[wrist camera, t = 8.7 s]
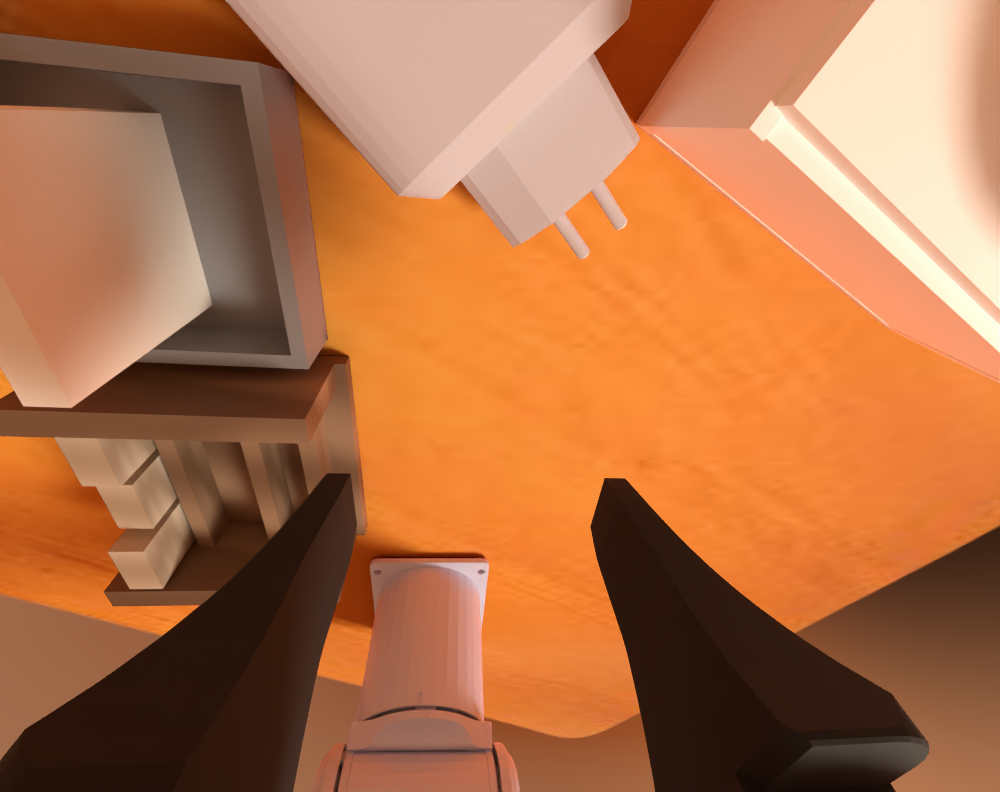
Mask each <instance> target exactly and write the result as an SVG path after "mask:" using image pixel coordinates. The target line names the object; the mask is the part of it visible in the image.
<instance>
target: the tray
mask: <svg viewBox="0 0 1000 792" xmlns="http://www.w3.org/2000/svg"><path fill="white" fill-rule="evenodd" d="M0 105H10V106H38V107H66V108H95V109H123V110H132V111H142V112H152V113H160V114H161V118H162V121H163V125H164V129H165V132H166V136H167V140H168V143H169V147H170V151H171V154H172V158H173V162H174V165H175V169H176V173H177V176H178V180H179V184H180V187H181V191H182V195H183V198H184V202H185V206H186V209H187V213H188V217H189V220H190V224H191V228H192V231H193V235H194V239H195V242H196V246H197V250H198V253H199V257H200V261H201V264H202V268H203V272H204V275H205V279H206V283H207V286H208V290H209V294H210V297H211V301H212V306H211V307H209V308H208V309H207V310H205V311H204V312H202V313H201V314H200V315H198V316H197V317H196V318H194V319H193V320H191V321H190V322H189V323H187V324H186V325H185V326H183V327H182V328H180V329H179V330H178V331H176V332H175V333H174V334H172V335H171V336H169V337H168V338H167V339H165V340H164V341H163V342H161V343H160V344H159V345H157V346H156V347H154V348H153V349H152V350H150V351H149V352H148V353H146V354H145V355H143V356H142V357H141V358H139V359H138V360H137V361H135V362H150V363H174V364H197V365H220V366H243V367H266V368H290V369H309V368H310V366H311V365H312V363H313V362H314V360H315V358H316V357H317V355H318V354H319V352H320V350H321V349H322V347H323V346H324V344H325V342H326V341H327V339H328V336H327V329H326V321H325V314H324V306H323V299H322V291H321V284H320V276H319V269H318V262H317V254H316V247H315V239H314V232H313V224H312V217H311V209H310V202H309V194H308V187H307V179H306V172H305V164H304V157H303V150H302V142H301V135H300V127H299V120H298V112H297V105H296V97H295V90H294V82H293V77H292V76H291V75H290V73H289V72H288V71H286V70H283V69H279V68H276V67H272V66H269V65H265V64H262V63H258V62H250V61H242V60H233V59H224V58H216V57H207V56H198V55H189V54H181V53H172V52H163V51H155V50H146V49H137V48H128V47H120V46H111V45H102V44H94V43H85V42H76V41H67V40H59V39H50V38H41V37H33V36H24V35H15V34H6V33H0Z"/></svg>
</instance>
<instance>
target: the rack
mask: <svg viewBox="0 0 1000 792" xmlns="http://www.w3.org/2000/svg"><path fill="white" fill-rule="evenodd" d="M0 436H18V437H58V438H97V439H137V440H154V442H155V444H156V447H157V449H158V451H159V454H160V456H161V458H162V461H163V463H164V465H165V468H166V470H167V472H168V475H169V477H170V480H171V482H172V484H173V487H174V489H175V491H176V494H177V496H178V498H179V501H180V503H181V505H182V508H183V510H184V512H185V515H186V517H187V519H188V522H189V524H190V526H191V529H192V531H193V533H194V536H195V540H194V541H193V543H192V545H191V546H190V548H189V549H188V551H187V552H186V554H185V555H184V557H183V559H182V560H181V562H180V563H179V565H178V566H177V568H176V569H175V571H174V573H173V574H172V576H171V577H170V579H169V580H168V582H167V583H166V585H165V586H164V588H163V589H130V588H129V587H128V585H127V583H126V582H125V580H124V578H123V577H122V575H121V573H120V572H119V573H118V574H117V575H116V577H115V578H114V579H113V580H112V582H111V583H110V584H109V586H108V587H107V588H106V590H105V591H104V593H105V595H106V596H107V598H108V599H109V601H110V602H111V604H112V605H113V606H170V605H201V604H202V603H204V602H205V601H206V600H207V599H208V598H210V597H211V596H212V595H213V594H214V593H215V592H216V591H217V590H219V589H220V588H221V587H222V586H223V585H224V584H225V583H226V582H228V581H229V580H230V579H231V578H232V577H233V576H234V575H235V574H236V573H237V572H238V571H239V570H240V569H241V568H242V567H243V566H244V565H246V564H247V563H248V562H249V561H250V559H251V558H252V557H253V556H254V555H255V554H256V553H257V552H258V551H259V550H260V549H261V548H262V547H263V546H264V545H265V544H266V543H267V542H268V541H269V540H270V539H271V538H272V537H273V536H274V535H275V534H276V533H277V531H278V530H279V529H280V528H281V527H282V526H283V525H284V524H285V522H286V521H287V520H288V519H289V518H290V517H291V516H292V515H293V513H294V512H295V511H296V510H297V509H298V508H299V506H300V505H301V504H302V503H303V502H304V500H305V499H306V498H307V497H308V496H309V494H310V493H311V492H312V491H313V489H314V488H315V487H316V486H317V484H318V483H319V482H320V481H321V479H322V478H323V477H324V476H325V475H326V474H327V473H350V474H351V480H352V488H353V496H354V504H355V512H356V520H357V528H356V534H355V539H356V535H365V532H366V528H367V517H366V508H365V499H364V489H363V480H362V471H361V462H360V452H359V443H358V434H357V424H356V415H355V406H354V397H353V387H352V378H351V369H350V359H349V357H348V356H326V355H317V357H316V358H315V360H314V362H313V363H312V365H311V366H310V368H309V369H290V368H266V367H243V366H220V365H197V364H174V363H150V362H134V363H132V364H131V365H130V366H128V367H127V368H126V369H124V370H123V371H121V372H120V373H119V374H117V375H116V376H115V377H113V378H112V379H110V380H109V381H108V382H106V383H105V384H104V385H102V386H101V387H100V388H98V389H97V390H95V391H94V392H93V393H91V394H90V395H89V396H87V397H86V398H84V399H83V400H82V401H80V402H79V403H78V404H76V405H75V406H73V407H72V408H58V407H29V406H23V405H22V403H21V401H20V400H19V398H18V396H17V395H16V393H15V391H13V392H11V393H10V394H8V395H6V396H5V397H3V398H1V399H0ZM355 539H354V543H355ZM353 547H354V545H353ZM352 551H353V550H352ZM346 574H347V573H346ZM345 578H346V576H345ZM344 581H345V579H344ZM343 585H344V583H343ZM342 589H343V586H342ZM342 589H341V592H340V595H339V599H338V602H337V603H339V601H340V597H341V593H342Z"/></svg>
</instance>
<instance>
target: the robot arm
mask: <svg viewBox="0 0 1000 792" xmlns="http://www.w3.org/2000/svg"><path fill="white" fill-rule="evenodd" d="M356 528H357V520H356V512H355V504H354V496H353V488H352V480H351V474H350V473H327V474H326V475H325V476H324V477H323V478H322V479H321V481H320V482H319V483H318V484H317V486H316V487H315V488H314V489H313V491H312V492H311V493H310V494H309V496H308V497H307V498H306V499H305V500H304V502H303V503H302V504H301V505H300V506H299V508H298V509H297V510H296V511H295V512H294V513H293V515H292V516H291V517H290V518H289V519H288V520H287V521H286V522H285V524H284V525H283V526H282V527H281V528H280V529H279V530H278V531H277V533H276V534H275V535H274V536H273V537H272V538H271V539H270V540H269V541H268V542H267V543H266V544H265V545H264V546H263V547H262V548H261V549H260V550H259V551H258V552H257V553H256V554H255V555H254V556H253V557H252V558H251V559H250V561H249V562H248V563H247V564H246V565H244V566H243V567H242V568H241V569H240V570H239V571H238V572H237V573H236V574H235V575H234V576H233V577H232V578H231V579H230V580H229V581H228V582H226V583H225V584H224V585H223V586H222V587H221V588H220V589H219V590H217V591H216V592H215V593H214V594H213V595H212V596H211V597H210V598H208V599H207V600H206V601H205V602H204V603H202V604H201V605H200V606H199V607H198V608H196V609H195V610H194V611H193V612H192V613H190V614H189V615H188V616H187V617H186V618H184V619H183V620H182V621H181V622H179V623H178V624H177V625H176V626H174V627H173V628H172V629H171V630H169V631H168V632H167V633H165V634H164V635H163V636H162V637H160V638H159V639H158V640H156V641H155V642H153V643H152V644H151V645H149V646H148V647H147V648H145V649H144V650H143V651H141V652H140V653H138V654H137V655H136V656H134V657H133V658H132V659H130V660H129V661H128V662H126V663H125V664H123V665H122V666H121V667H119V668H118V669H116V670H115V671H114V672H112V673H111V674H109V675H108V676H106V677H105V678H104V679H102V680H101V681H100V682H98V683H96V684H95V685H93V686H92V687H90V688H89V689H87V690H85V691H84V692H82V693H81V694H79V695H78V696H76V697H75V698H74V699H72V700H70V701H69V702H67V703H65V704H64V705H62V706H61V707H59V708H58V709H56V710H55V711H53V712H52V713H50V714H49V715H47V716H46V717H44V718H42V719H41V720H39V721H37V722H36V723H34V724H33V725H31V726H30V727H28V728H26V729H25V730H24V731H23V733H22V734H21V735H20V736H19V738H18V739H17V740H16V741H15V743H14V744H13V745H12V746H11V748H10V749H9V750H8V751H7V753H6V754H5V755H4V756H3V758H2V759H1V761H0V792H293V788H294V783H295V778H296V772H297V768H298V762H299V756H300V752H301V747H302V741H303V736H304V732H305V727H306V722H307V717H308V712H309V707H310V703H311V698H312V693H313V689H314V684H315V679H316V675H317V671H318V666H319V661H320V658H321V654H322V650H323V647H324V643H325V640H326V637H327V633H328V630H329V627H330V624H331V621H332V618H333V614H334V611H335V608H336V605H337V602H338V599H339V595H340V592H341V589H342V586H343V583H344V579H345V576H346V573H347V570H348V567H349V563H350V560H351V555H352V550H353V545H354V539H355V534H356ZM591 531H592V536H593V542H594V547H595V552H596V556H597V561H598V564H599V567H600V570H601V573H602V576H603V579H604V582H605V586H606V589H607V592H608V595H609V598H610V601H611V604H612V607H613V610H614V613H615V616H616V619H617V622H618V625H619V628H620V631H621V634H622V637H623V640H624V644H625V647H626V651H627V654H628V659H629V663H630V667H631V672H632V676H633V680H634V685H635V689H636V694H637V698H638V703H639V708H640V713H641V717H642V722H643V727H644V732H645V737H646V742H647V748H648V753H649V758H650V764H651V768H652V774H653V780H654V786H655V792H895V790H894V788H893V787H892V785H891V784H890V783H891V782H893V781H894V780H896V779H897V778H899V777H900V776H902V775H903V774H905V773H906V772H908V771H910V770H911V769H913V768H914V767H916V766H917V765H918V764H920V763H921V762H922V761H924V760H925V758H926V756H927V755H928V754H929V744H928V742H927V740H926V739H925V738H924V736H923V735H922V734H921V732H920V731H919V730H918V728H917V727H916V726H915V725H914V723H913V722H912V720H911V719H910V718H909V716H908V715H907V714H906V712H905V711H904V710H903V708H902V707H901V706H900V704H899V703H898V702H897V700H896V699H895V698H894V696H893V695H892V694H891V693H889V692H888V691H886V690H884V689H882V688H881V687H879V686H877V685H875V684H874V683H872V682H871V681H869V680H867V679H866V678H864V677H862V676H861V675H859V674H857V673H855V672H853V671H852V670H850V669H849V668H847V667H845V666H843V665H841V664H840V663H839V662H837V661H835V660H834V659H832V658H831V657H829V656H827V655H826V654H825V653H823V652H822V651H820V650H819V649H817V648H815V647H814V646H812V645H811V644H809V643H808V642H806V641H805V640H803V639H802V638H800V637H799V636H797V635H796V634H795V633H793V632H792V631H790V630H789V629H787V628H786V627H785V626H783V625H782V624H780V623H779V622H778V621H776V620H775V619H774V618H772V617H771V616H770V615H768V614H767V613H766V612H764V611H763V610H761V609H760V608H759V607H757V606H756V605H755V604H754V603H752V602H751V601H750V600H749V599H747V598H746V597H745V596H743V595H742V594H741V593H740V592H739V591H737V590H736V589H735V588H734V587H733V586H731V585H730V584H729V583H728V582H727V581H726V580H724V579H723V578H722V577H721V576H720V575H718V574H717V573H716V572H715V571H714V570H713V569H712V568H711V567H709V566H708V565H707V564H706V563H705V562H704V561H703V560H702V559H701V558H700V557H699V556H698V555H697V554H696V553H695V552H694V551H693V550H691V549H690V548H689V547H688V546H687V545H686V544H685V543H684V542H683V541H682V540H681V539H680V538H679V537H678V536H677V535H676V534H675V532H674V531H673V530H672V529H671V528H670V527H669V526H668V525H667V524H666V523H665V522H664V521H663V520H662V519H661V518H660V517H659V516H658V514H657V513H656V512H655V511H654V510H653V509H652V508H651V507H650V506H649V505H648V503H647V502H646V501H645V500H644V499H643V498H642V497H641V496H640V495H639V493H638V492H637V491H636V490H635V489H634V488H633V487H632V486H631V485H630V483H629V482H628V481H627V480H626V479H621V478H605V479H604V483H603V486H602V489H601V493H600V496H599V500H598V503H597V506H596V510H595V513H594V517H593V520H592V523H591ZM488 570H489V562H488V560H487V559H484V558H377V559H373V560H372V561H371V563H370V575H371V584H372V593H373V602H374V611H375V619H374V625H373V630H372V636H371V641H370V647H369V652H368V658H367V663H366V669H365V675H364V680H363V686H362V691H361V697H360V702H359V708H358V713H357V719H356V721H354V722H352V724H351V729H350V735H349V740H348V746H347V751H346V744H341V743H337V744H335V745H334V746H333V747H332V749H331V751H329V752H328V753H327V754H326V755H325V757H323V759H322V760H321V763H320V765H319V767H318V771H317V774H316V777H315V780H314V784H313V788H312V792H520V789H519V782H518V776H517V771H516V767H515V764H514V761H513V759H512V758H511V756H510V755H509V753H508V752H507V751H506V748H505V747H504V745H503V744H502V743H500V742H496V743H492V726H491V722H486V721H484V707H483V677H482V646H481V628H482V620H483V612H484V603H485V595H486V587H487V578H488Z"/></svg>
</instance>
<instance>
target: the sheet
mask: <svg viewBox="0 0 1000 792" xmlns="http://www.w3.org/2000/svg"><path fill="white" fill-rule="evenodd" d="M211 306H212V301H211V297H210V294H209V290H208V286H207V283H206V279H205V275H204V272H203V268H202V264H201V261H200V257H199V253H198V250H197V246H196V242H195V239H194V235H193V231H192V228H191V224H190V220H189V217H188V213H187V209H186V206H185V202H184V198H183V195H182V191H181V187H180V184H179V180H178V176H177V173H176V169H175V165H174V162H173V158H172V154H171V151H170V147H169V143H168V140H167V136H166V132H165V129H164V125H163V121H162V118H161V114H160V113H152V112H142V111H132V110H123V109H95V108H66V107H38V106H10V105H0V368H1V369H2V371H3V373H4V374H5V376H6V378H7V379H8V381H9V383H10V384H11V386H12V388H13V390H14V391H15V393H16V395H17V396H18V398H19V400H20V401H21V403H22V405H23V406H29V407H58V408H72V407H73V406H75V405H76V404H78V403H79V402H80V401H82V400H83V399H84V398H86V397H87V396H89V395H90V394H91V393H93V392H94V391H95V390H97V389H98V388H100V387H101V386H102V385H104V384H105V383H106V382H108V381H109V380H110V379H112V378H113V377H115V376H116V375H117V374H119V373H120V372H121V371H123V370H124V369H126V368H127V367H128V366H130V365H131V364H132V363H134V362H135V361H137V360H138V359H139V358H141V357H142V356H143V355H145V354H146V353H148V352H149V351H150V350H152V349H153V348H154V347H156V346H157V345H159V344H160V343H161V342H163V341H164V340H165V339H167V338H168V337H169V336H171V335H172V334H174V333H175V332H176V331H178V330H179V329H180V328H182V327H183V326H185V325H186V324H187V323H189V322H190V321H191V320H193V319H194V318H196V317H197V316H198V315H200V314H201V313H202V312H204V311H205V310H207V309H208V308H209V307H211Z"/></svg>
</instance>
